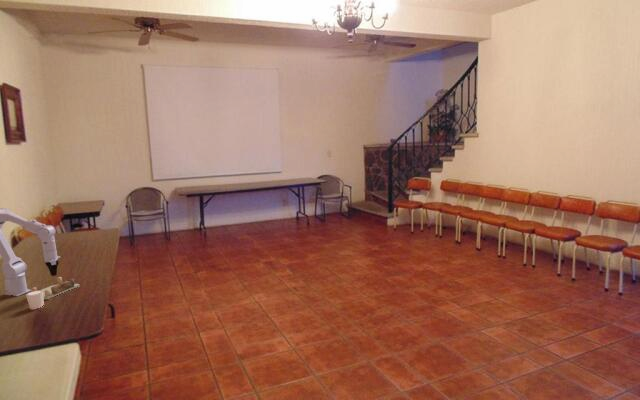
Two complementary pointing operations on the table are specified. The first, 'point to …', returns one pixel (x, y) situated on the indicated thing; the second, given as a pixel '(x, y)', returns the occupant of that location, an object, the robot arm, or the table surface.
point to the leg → (62, 286)
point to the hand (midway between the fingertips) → (53, 275)
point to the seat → (48, 293)
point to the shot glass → (35, 299)
